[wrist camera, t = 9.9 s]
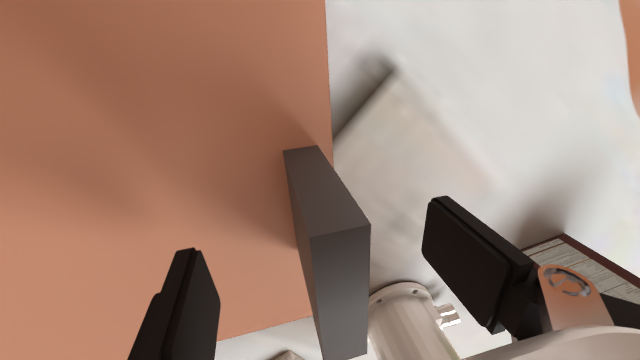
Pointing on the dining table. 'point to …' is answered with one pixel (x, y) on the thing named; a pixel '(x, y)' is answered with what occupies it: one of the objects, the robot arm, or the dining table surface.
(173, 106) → the lid
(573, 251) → the protein box
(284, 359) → the packaged product
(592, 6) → the dining table surface
